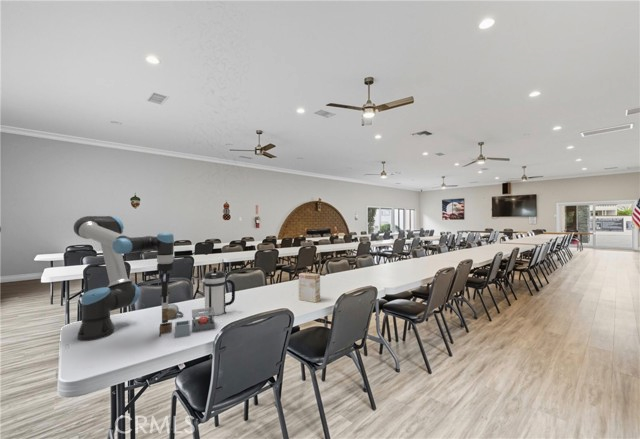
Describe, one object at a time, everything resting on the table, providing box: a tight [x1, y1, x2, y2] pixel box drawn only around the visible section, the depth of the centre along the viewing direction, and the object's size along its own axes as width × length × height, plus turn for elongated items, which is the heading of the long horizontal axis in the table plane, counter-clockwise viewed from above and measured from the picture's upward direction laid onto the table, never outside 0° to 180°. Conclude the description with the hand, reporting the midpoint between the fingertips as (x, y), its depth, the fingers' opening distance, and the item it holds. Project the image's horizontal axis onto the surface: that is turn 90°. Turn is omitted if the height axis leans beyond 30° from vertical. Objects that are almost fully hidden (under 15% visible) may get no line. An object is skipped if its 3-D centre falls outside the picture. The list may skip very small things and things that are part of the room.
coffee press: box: [201, 266, 236, 318], centre depth 180 cm, size 17×16×30 cm
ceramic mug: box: [168, 303, 184, 320], centre depth 176 cm, size 11×8×8 cm
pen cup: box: [174, 320, 191, 338], centre depth 146 cm, size 7×7×7 cm
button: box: [198, 316, 208, 323], centre depth 156 cm, size 4×4×5 cm
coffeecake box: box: [298, 272, 321, 304], centre depth 211 cm, size 15×7×20 cm, turn 58°
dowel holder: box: [159, 321, 173, 337], centre depth 150 cm, size 5×5×5 cm
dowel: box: [161, 293, 169, 324], centre depth 150 cm, size 3×3×20 cm
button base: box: [191, 307, 216, 333], centre depth 156 cm, size 11×11×10 cm
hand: (165, 307), depth 150 cm, fingers closed on dowel, 3 cm apart
